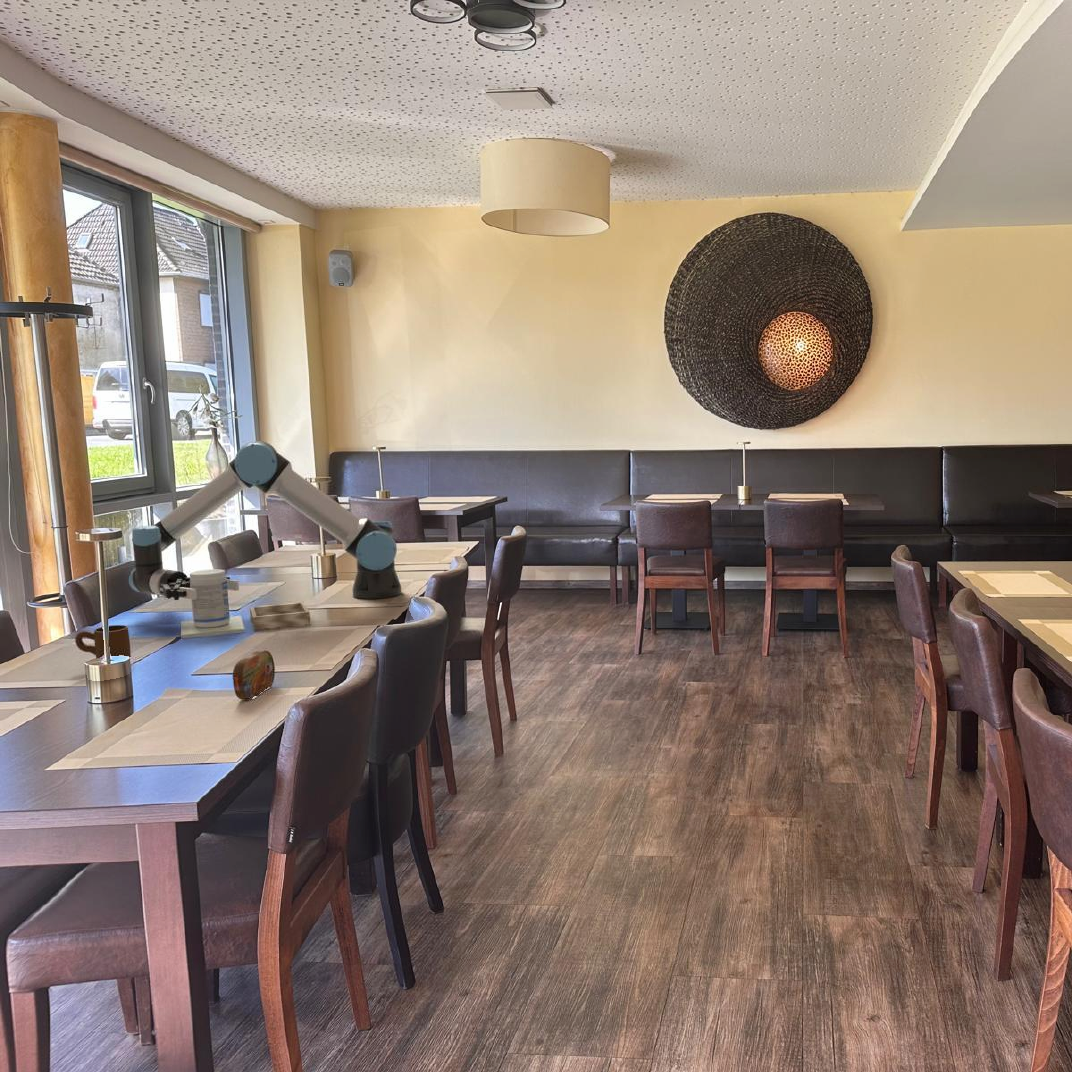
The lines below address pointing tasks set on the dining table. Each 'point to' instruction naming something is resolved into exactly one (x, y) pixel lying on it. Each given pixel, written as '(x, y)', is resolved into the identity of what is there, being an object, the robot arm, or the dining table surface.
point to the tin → (253, 674)
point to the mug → (117, 641)
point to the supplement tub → (210, 598)
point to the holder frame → (279, 615)
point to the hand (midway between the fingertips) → (217, 589)
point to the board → (211, 628)
